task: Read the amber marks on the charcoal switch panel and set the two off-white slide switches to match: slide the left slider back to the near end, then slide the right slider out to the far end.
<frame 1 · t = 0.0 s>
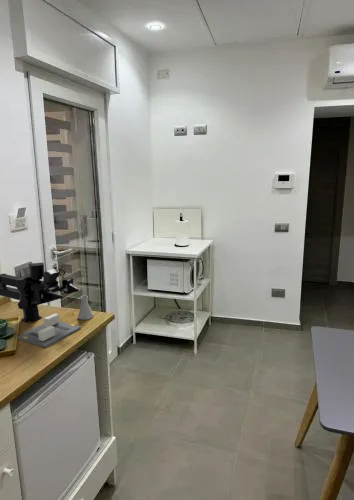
hand: (70, 293, 149), 17 cm above the countertop, tool horizontal, fingers open, 9 cm apart
switch panel: (50, 333, 150), on the countertop
slider 1: (46, 333, 143), point 3 cm above the countertop, slide at 8.0 cm
flask: (85, 317, 166), on the countertop
slider 2: (51, 320, 155), point 3 cm above the countertop, slide at 0.0 cm
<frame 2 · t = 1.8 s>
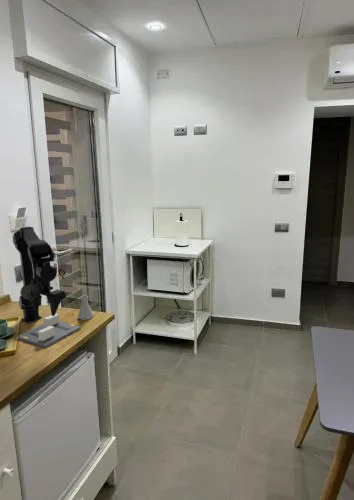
hand: (44, 313, 141), 11 cm above the countertop, tool pointing down, fingers open, 9 cm apart
nothing on the countertop moved.
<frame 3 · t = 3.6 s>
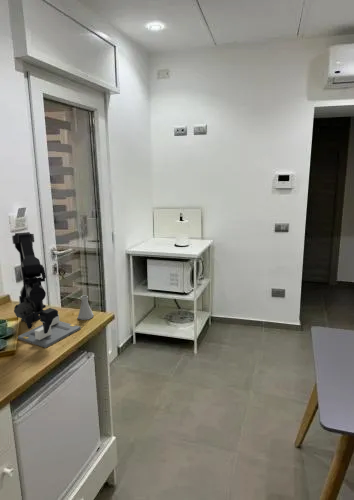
hand: (37, 330, 145), 3 cm above the countertop, tool pointing down, fingers open, 9 cm apart
slider 1: (43, 332, 144), point 3 cm above the countertop, slide at 6.0 cm, touching gripper
everything else where it was.
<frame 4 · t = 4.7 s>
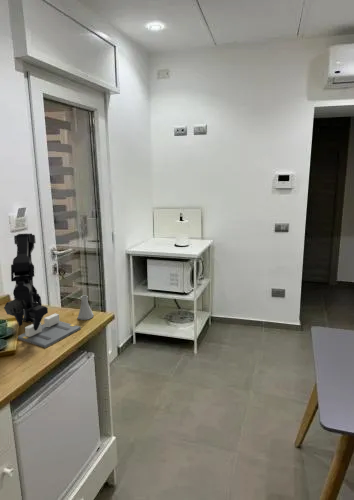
hand: (28, 327, 148), 3 cm above the countertop, tool pointing down, fingers open, 9 cm apart
slider 1: (33, 329, 146), point 3 cm above the countertop, slide at 0.5 cm, touching gripper
everything else where it was.
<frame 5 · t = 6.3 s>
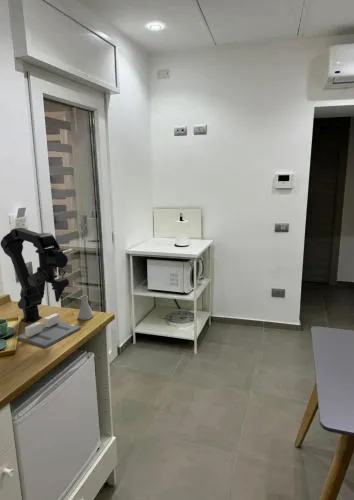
hand: (49, 299, 153), 12 cm above the countertop, tool pointing down, fingers open, 9 cm apart
slider 1: (33, 329, 146), point 3 cm above the countertop, slide at 0.4 cm
everything else where it was.
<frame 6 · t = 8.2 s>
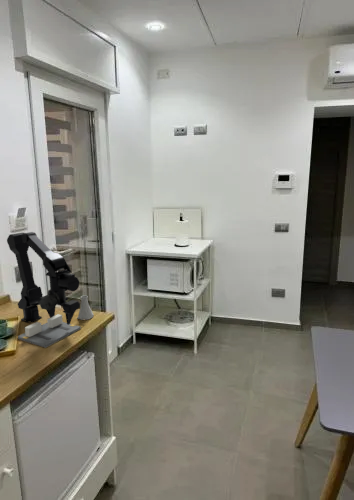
hand: (60, 322, 153), 3 cm above the countertop, tool pointing down, fingers open, 9 cm apart
slider 2: (55, 321, 154), point 3 cm above the countertop, slide at 1.9 cm, touching gripper
everything else where it was.
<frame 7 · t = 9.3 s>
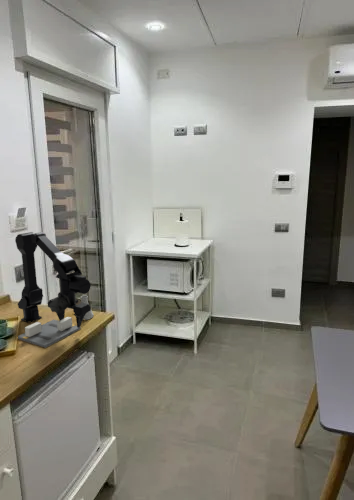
hand: (70, 325, 150), 3 cm above the countertop, tool pointing down, fingers open, 9 cm apart
slider 2: (64, 323, 152), point 3 cm above the countertop, slide at 7.5 cm, touching gripper
everything else where it was.
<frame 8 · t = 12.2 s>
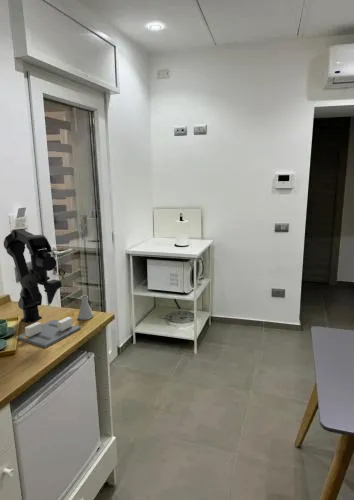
hand: (42, 301, 152), 12 cm above the countertop, tool pointing down, fingers open, 9 cm apart
slider 2: (65, 323, 151), point 3 cm above the countertop, slide at 7.7 cm
everything else where it was.
at the end: slider 2 slide at 7.7 cm; slider 1 slide at 0.4 cm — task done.
